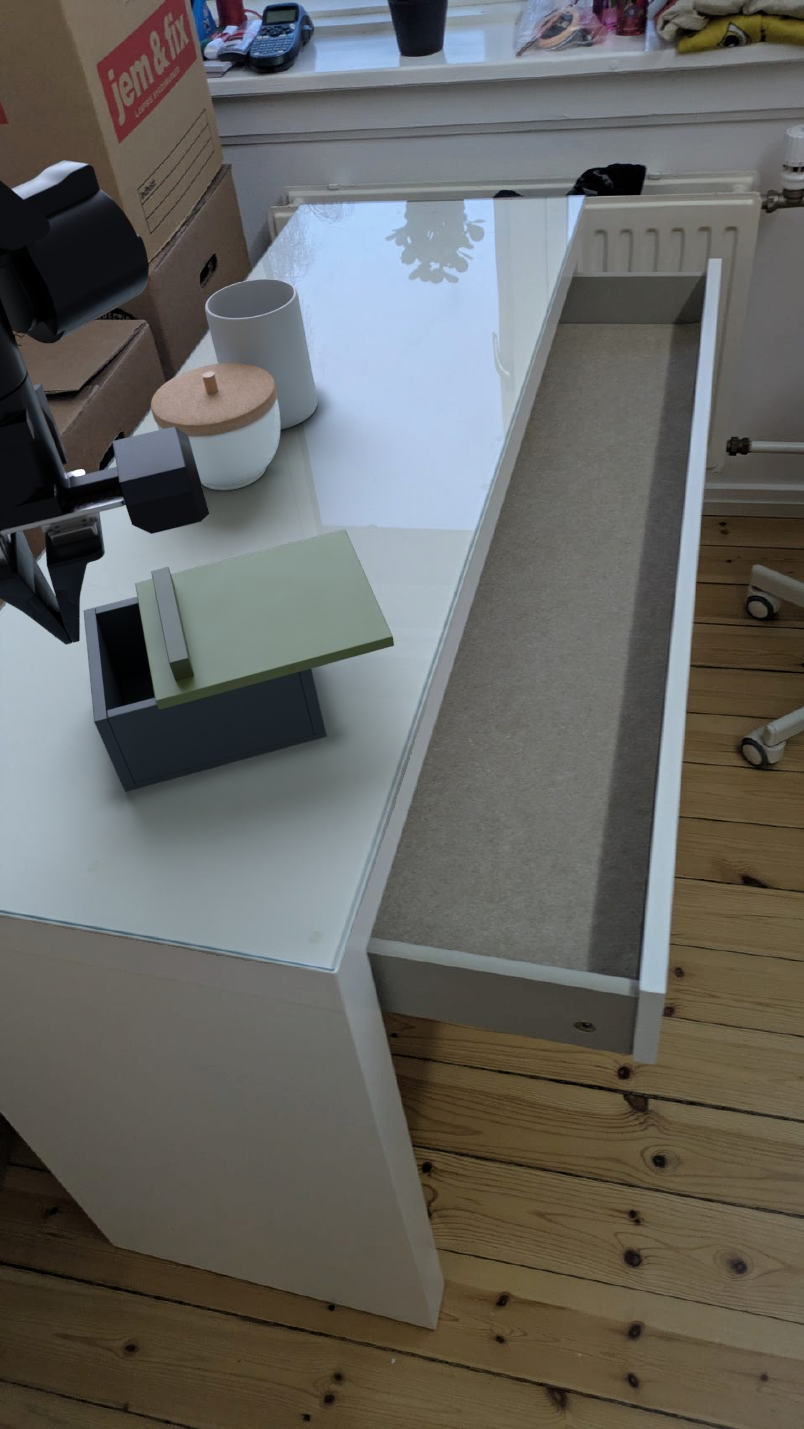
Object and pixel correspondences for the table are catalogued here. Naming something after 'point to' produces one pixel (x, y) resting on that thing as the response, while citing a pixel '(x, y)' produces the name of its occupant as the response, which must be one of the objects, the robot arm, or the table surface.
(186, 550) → the table surface
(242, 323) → the mug
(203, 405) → the trinket box
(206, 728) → the bin
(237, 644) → the bin lid
